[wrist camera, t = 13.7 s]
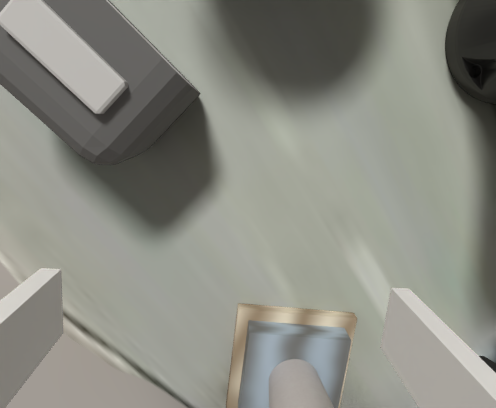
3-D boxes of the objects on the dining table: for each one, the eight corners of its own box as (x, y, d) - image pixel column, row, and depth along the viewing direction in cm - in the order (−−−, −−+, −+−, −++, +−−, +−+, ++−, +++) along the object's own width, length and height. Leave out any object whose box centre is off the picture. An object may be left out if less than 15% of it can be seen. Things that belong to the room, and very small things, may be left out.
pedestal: (353, 312, 52) (365, 331, 47) (334, 411, 55) (343, 436, 51) (238, 303, 50) (238, 321, 46) (226, 404, 54) (225, 429, 50)
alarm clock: (202, 95, 44) (188, 83, 29) (137, 163, 46) (92, 186, 30) (93, -16, 41) (13, -93, 26) (28, 61, 42) (-84, 31, 27)
